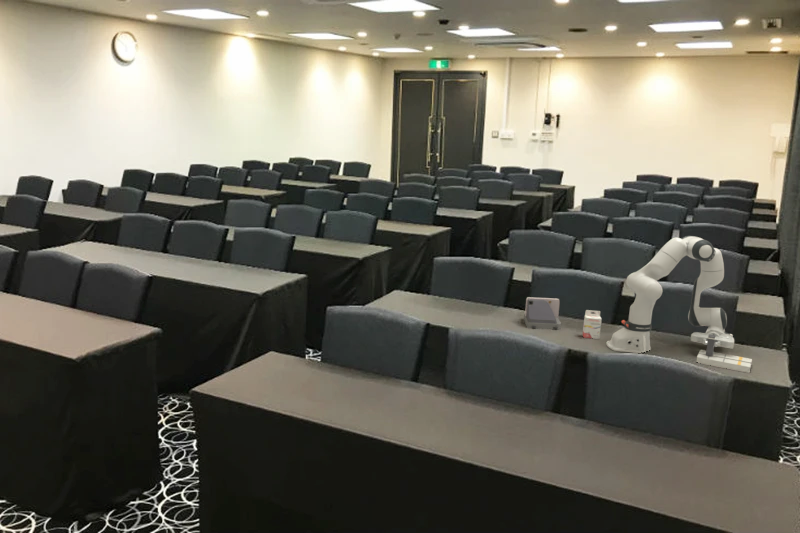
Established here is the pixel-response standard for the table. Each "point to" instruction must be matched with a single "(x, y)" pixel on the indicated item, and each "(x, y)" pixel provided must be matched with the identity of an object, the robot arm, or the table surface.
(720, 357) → the fader console
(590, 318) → the ink cartridge box
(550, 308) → the tablet on stand
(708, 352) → the fader knob
